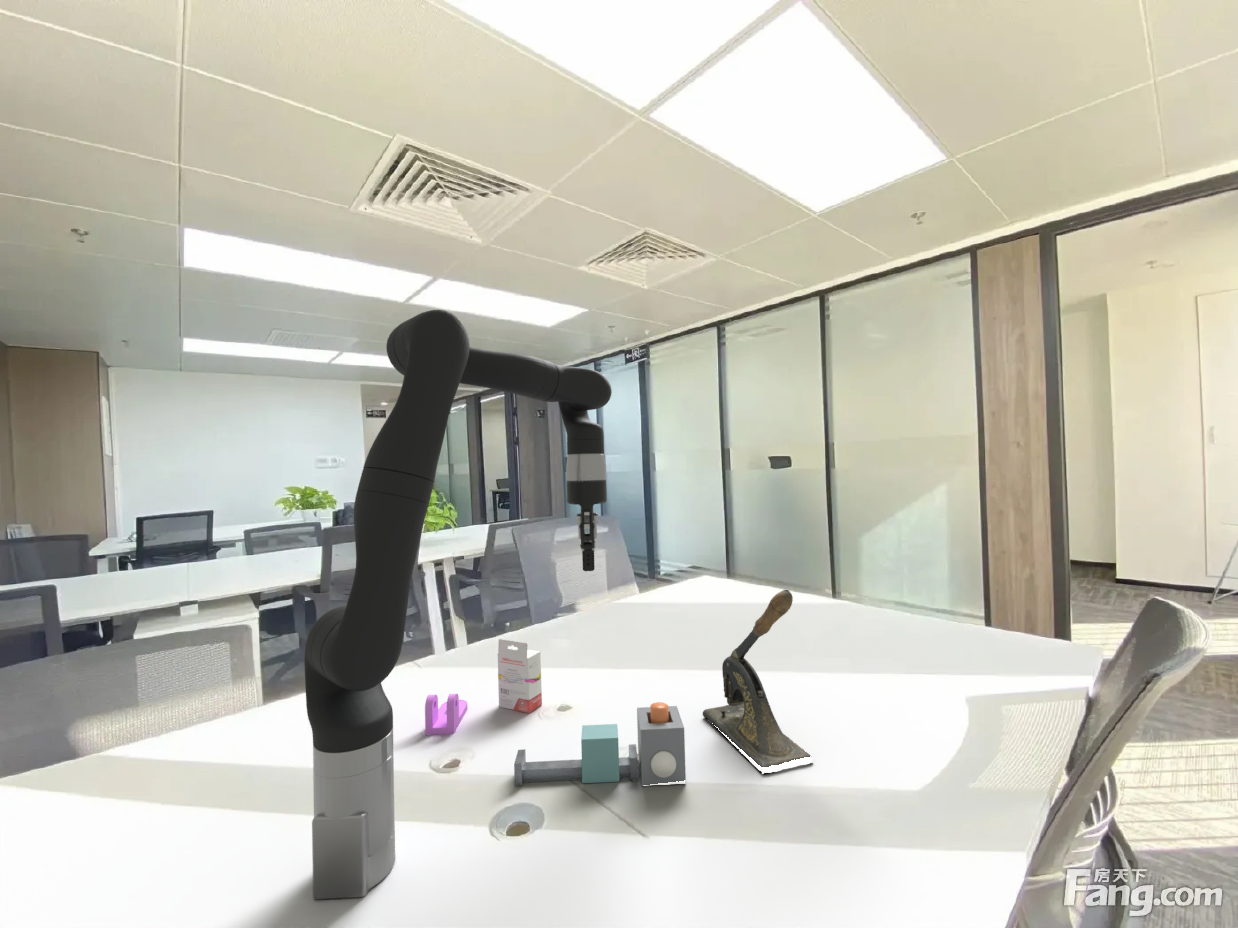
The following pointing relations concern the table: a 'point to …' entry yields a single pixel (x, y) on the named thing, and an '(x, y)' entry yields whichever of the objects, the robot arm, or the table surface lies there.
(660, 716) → the gauge button
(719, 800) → the table surface
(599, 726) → the block
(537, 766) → the rail
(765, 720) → the embossing press
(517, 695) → the ink cartridge box
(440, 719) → the bracket
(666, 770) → the cabinet
